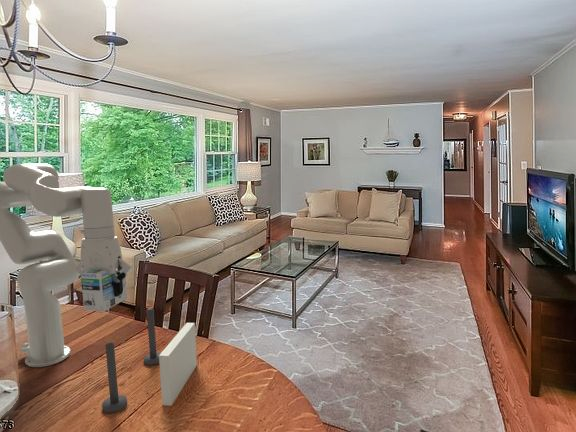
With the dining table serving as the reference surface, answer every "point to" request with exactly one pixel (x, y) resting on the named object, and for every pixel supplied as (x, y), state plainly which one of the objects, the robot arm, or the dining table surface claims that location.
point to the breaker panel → (177, 363)
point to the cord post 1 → (113, 384)
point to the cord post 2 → (151, 341)
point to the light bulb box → (100, 290)
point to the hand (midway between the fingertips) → (105, 294)
